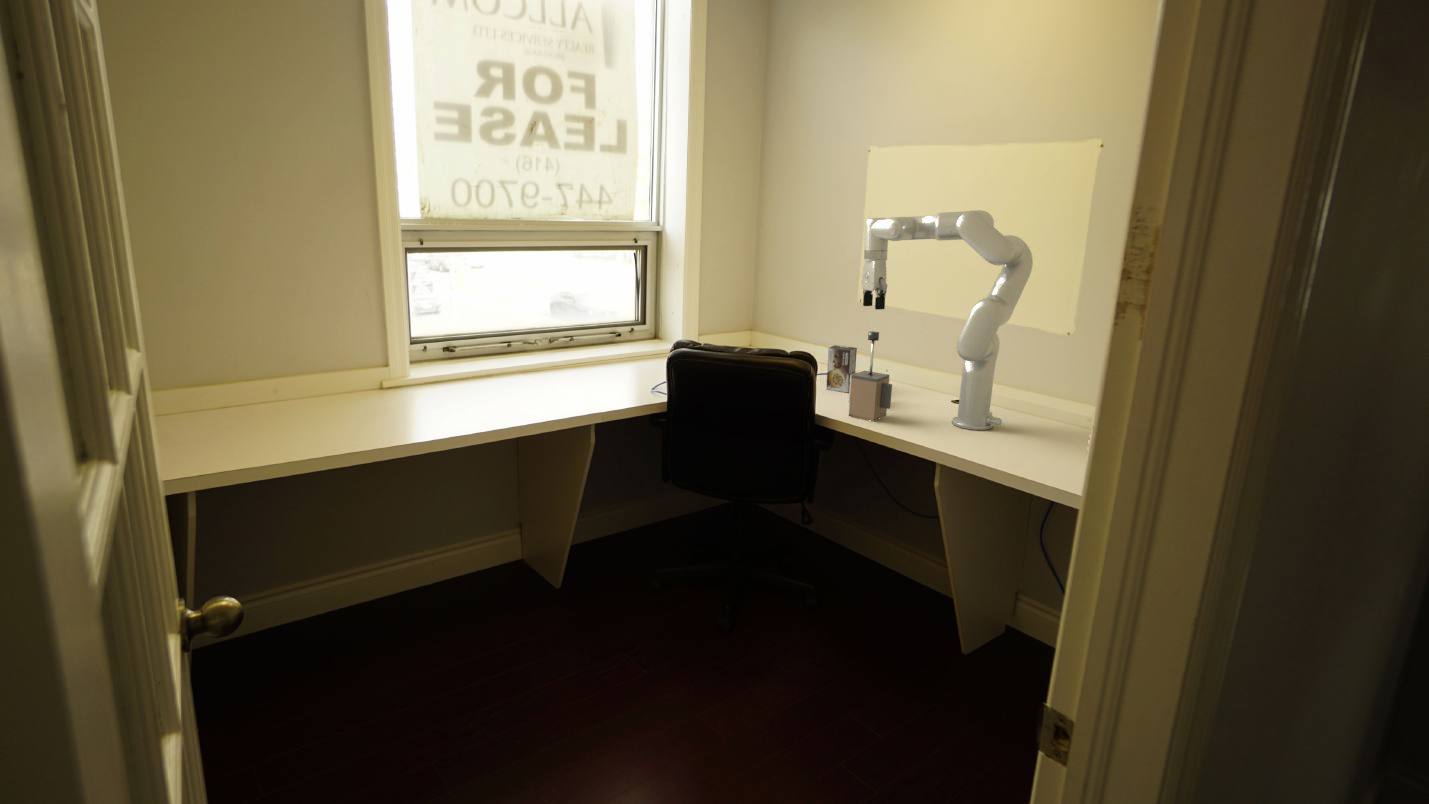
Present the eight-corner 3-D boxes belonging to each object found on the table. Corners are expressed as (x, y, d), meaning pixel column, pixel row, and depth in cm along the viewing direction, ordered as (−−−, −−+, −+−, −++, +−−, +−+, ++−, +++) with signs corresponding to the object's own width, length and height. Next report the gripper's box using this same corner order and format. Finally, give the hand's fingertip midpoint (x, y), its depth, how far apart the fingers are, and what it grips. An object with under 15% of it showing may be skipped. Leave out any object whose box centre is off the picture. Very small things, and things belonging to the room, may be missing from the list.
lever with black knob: (882, 383, 252) (886, 332, 248) (874, 386, 248) (878, 334, 243) (866, 380, 256) (869, 330, 252) (857, 383, 251) (861, 332, 247)
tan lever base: (894, 417, 254) (897, 376, 250) (881, 423, 247) (885, 380, 243) (861, 410, 261) (864, 370, 257) (848, 416, 254) (851, 374, 250)
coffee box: (854, 389, 290) (857, 347, 286) (848, 393, 284) (850, 350, 280) (832, 386, 294) (835, 344, 290) (825, 389, 289) (827, 347, 285)
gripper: (854, 255, 263) (853, 305, 267) (876, 257, 247) (873, 311, 251) (875, 254, 265) (873, 304, 269) (897, 257, 248) (895, 310, 252)
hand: (873, 307), depth 260 cm, fingers open, 9 cm apart
